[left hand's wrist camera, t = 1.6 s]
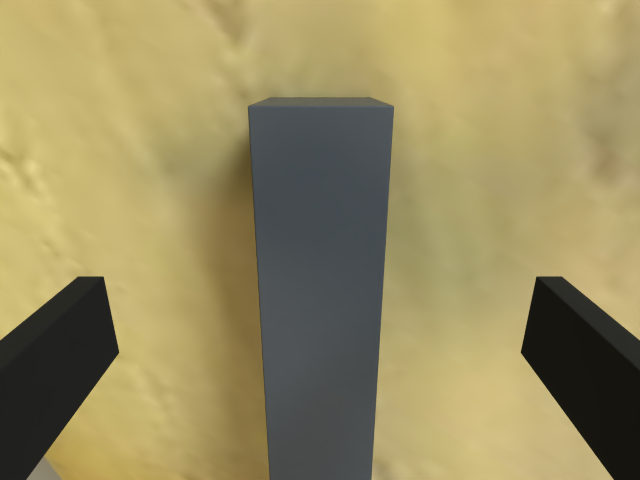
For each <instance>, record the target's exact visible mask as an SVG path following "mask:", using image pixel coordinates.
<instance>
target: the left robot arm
mask: <svg viewBox="0 0 640 480" xmlns="http://www.w3.org/2000/svg"><path fill="white" fill-rule="evenodd" d="M118 354H119V349H118V345H117V340H116V335H115V330H114V325H113V320H112V315H111V311H110V306H109V301H108V296H107V291H106V286H105V281H104V277H77V278H76V279H75V280H73V281H72V282H71V283H70V284H69V285H67V286H66V287H65V288H64V289H62V290H61V291H60V292H59V293H58V294H56V295H55V296H54V297H53V298H52V299H50V300H49V301H48V302H47V303H45V304H44V305H43V306H42V307H41V308H39V309H38V310H37V311H36V312H34V313H33V314H32V315H31V316H30V317H28V318H27V319H26V320H25V321H23V322H22V323H21V324H20V325H19V326H17V327H16V328H15V329H14V330H12V331H11V332H10V333H9V334H8V335H6V336H5V337H4V338H3V339H2V340H0V480H26V479H27V478H28V476H29V475H30V474H31V472H32V471H33V470H34V468H35V467H36V466H37V464H38V463H39V461H40V460H41V459H42V457H43V456H44V455H45V453H46V452H47V451H48V449H49V448H50V446H51V445H52V444H53V442H54V441H55V440H56V438H57V437H58V436H59V434H60V433H61V431H62V430H63V429H64V427H65V426H66V425H67V423H68V422H69V421H70V419H71V418H72V416H73V415H74V414H75V412H76V411H77V410H78V408H79V407H80V405H81V404H82V403H83V401H84V400H85V399H86V397H87V396H88V395H89V393H90V392H91V390H92V389H93V388H94V386H95V385H96V384H97V382H98V381H99V380H100V378H101V377H102V375H103V374H104V373H105V371H106V370H107V369H108V367H109V366H110V365H111V363H112V362H113V360H114V359H115V358H116V356H117V355H118ZM521 354H522V355H523V356H524V358H525V359H526V360H527V362H528V363H529V365H530V366H531V367H532V369H533V370H534V371H535V373H536V374H537V375H538V377H539V378H540V380H541V381H542V382H543V384H544V385H545V386H546V388H547V389H548V390H549V392H550V393H551V395H552V396H553V397H554V399H555V400H556V401H557V403H558V404H559V405H560V407H561V408H562V410H563V411H564V412H565V414H566V415H567V416H568V418H569V419H570V421H571V422H572V423H573V425H574V426H575V427H576V429H577V430H578V431H579V433H580V434H581V436H582V437H583V438H584V440H585V441H586V442H587V444H588V445H589V446H590V448H591V449H592V451H593V452H594V453H595V455H596V456H597V457H598V459H599V460H600V461H601V463H602V464H603V466H604V467H605V468H606V470H607V471H608V472H609V474H610V475H611V476H612V478H613V479H614V480H640V340H638V339H637V338H636V337H635V336H634V335H632V334H631V333H630V332H629V331H628V330H626V329H625V328H624V327H623V326H621V325H620V324H619V323H618V322H617V321H615V320H614V319H613V318H612V317H610V316H609V315H608V314H607V313H606V312H604V311H603V310H602V309H601V308H599V307H598V306H597V305H596V304H595V303H593V302H592V301H591V300H590V299H588V298H587V297H586V296H585V295H584V294H582V293H581V292H580V291H579V290H578V289H576V288H575V287H574V286H573V285H571V284H570V283H569V282H568V281H567V280H565V279H564V278H563V277H536V281H535V286H534V291H533V296H532V301H531V306H530V311H529V315H528V320H527V325H526V330H525V335H524V340H523V345H522V349H521Z"/></svg>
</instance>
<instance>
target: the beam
mask: <svg viewBox="0 0 640 480" xmlns="http://www.w3.org/2000/svg"><path fill="white" fill-rule="evenodd" d="M393 114H394V106H392V105H389V104H387V103H384V102H381V101H379V100H376V99H373V98H268V99H265V100H263V101H260V102H258V103H255V104H252V105H250V106H248V116H249V133H250V150H251V168H252V185H253V202H254V219H255V236H256V253H257V270H258V287H259V304H260V321H261V338H262V355H263V372H264V389H265V406H266V423H267V440H268V457H269V474H270V480H371V475H372V459H373V442H374V426H375V410H376V393H377V377H378V360H379V344H380V327H381V311H382V295H383V278H384V262H385V245H386V229H387V212H388V196H389V179H390V163H391V147H392V130H393Z"/></svg>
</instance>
